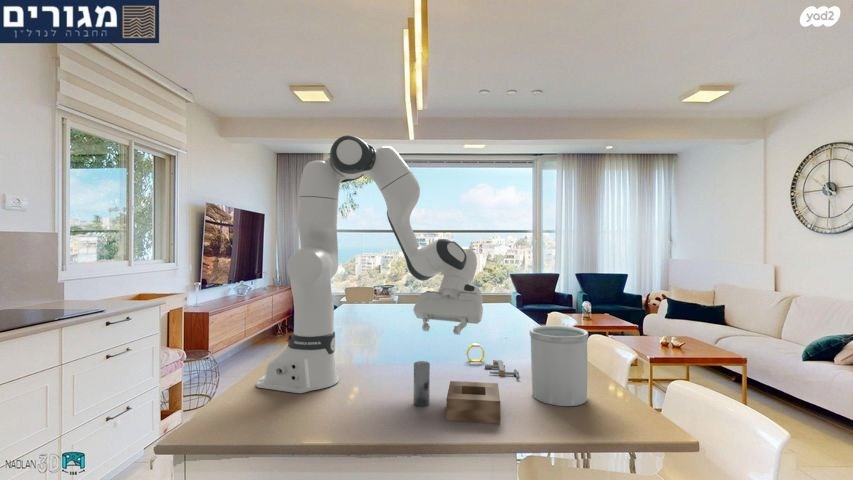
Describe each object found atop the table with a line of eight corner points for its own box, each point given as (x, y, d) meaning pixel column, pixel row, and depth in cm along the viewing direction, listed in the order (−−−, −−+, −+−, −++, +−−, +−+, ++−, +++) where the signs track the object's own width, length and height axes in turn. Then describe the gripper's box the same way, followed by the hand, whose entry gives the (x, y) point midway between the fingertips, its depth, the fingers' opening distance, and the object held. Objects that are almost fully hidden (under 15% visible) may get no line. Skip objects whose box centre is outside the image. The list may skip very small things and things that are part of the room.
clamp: (484, 359, 136) (514, 360, 135) (484, 365, 136) (514, 366, 135) (486, 373, 121) (520, 374, 120) (486, 380, 121) (520, 382, 120)
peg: (412, 406, 101) (412, 365, 101) (414, 400, 105) (415, 360, 105) (428, 407, 100) (428, 366, 100) (430, 400, 104) (430, 361, 104)
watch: (482, 361, 142) (484, 343, 142) (484, 363, 139) (485, 345, 139) (465, 359, 142) (467, 342, 142) (466, 362, 139) (468, 344, 139)
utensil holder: (526, 403, 103) (526, 333, 104) (532, 384, 117) (532, 323, 117) (589, 411, 98) (589, 338, 98) (587, 391, 112) (587, 327, 112)
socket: (446, 420, 93) (446, 398, 93) (450, 400, 104) (450, 380, 104) (500, 423, 91) (500, 401, 91) (497, 403, 103) (497, 383, 103)
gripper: (419, 284, 125) (403, 321, 116) (483, 287, 116) (472, 328, 107) (425, 297, 129) (410, 334, 120) (488, 301, 120) (477, 342, 111)
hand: (440, 331), depth 113 cm, fingers open, 8 cm apart
